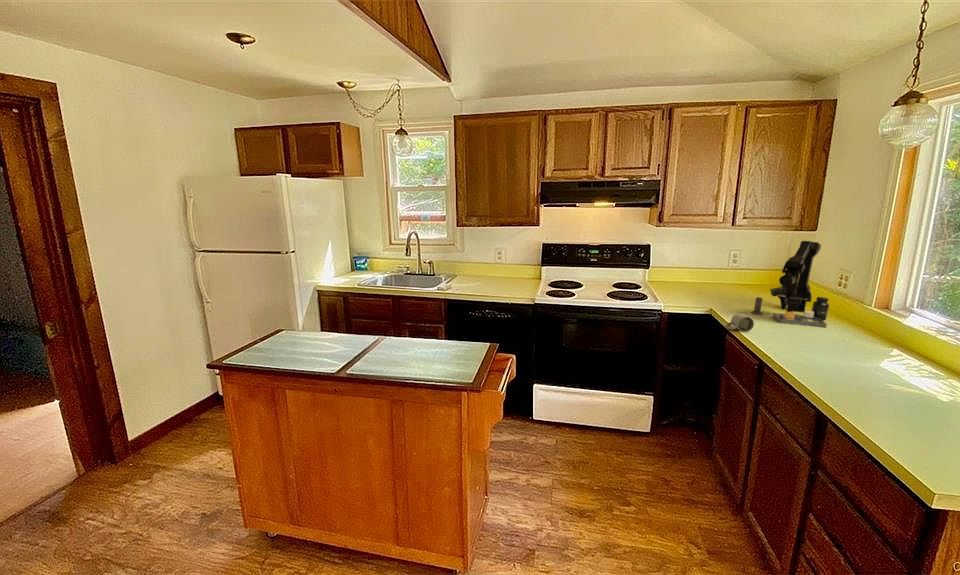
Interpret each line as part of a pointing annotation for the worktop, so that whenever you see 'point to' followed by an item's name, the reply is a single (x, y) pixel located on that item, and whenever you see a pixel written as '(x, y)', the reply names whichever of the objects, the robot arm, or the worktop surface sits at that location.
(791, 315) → the amber toggle
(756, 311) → the post
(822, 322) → the breaker panel
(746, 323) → the ceramic mug
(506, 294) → the worktop surface
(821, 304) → the supplement bottle
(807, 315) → the ivory toggle
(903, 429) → the worktop surface
